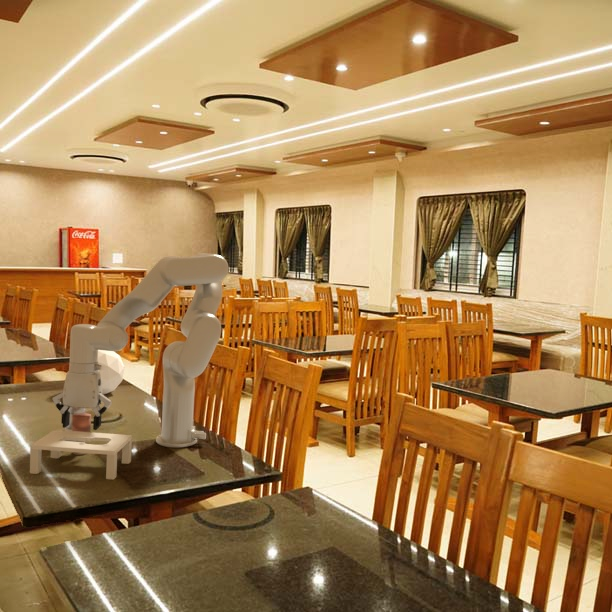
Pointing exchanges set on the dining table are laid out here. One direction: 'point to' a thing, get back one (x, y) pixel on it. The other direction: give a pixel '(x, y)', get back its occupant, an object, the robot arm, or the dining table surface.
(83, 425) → the peg
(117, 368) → the ball
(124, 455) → the keyhole plate
